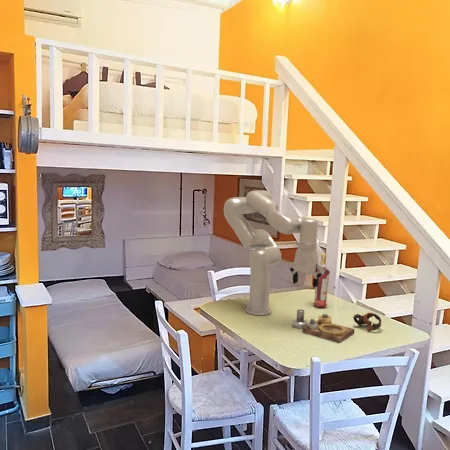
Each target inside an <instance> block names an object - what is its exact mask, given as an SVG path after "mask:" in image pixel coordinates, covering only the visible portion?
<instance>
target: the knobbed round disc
mask: <svg viewBox="0 0 450 450" xmlns="http://www.w3.org/2000/svg"><path fill="white" fill-rule="evenodd" d="M307 322H308V321H307V320H306V319H305V309H302V308H301V309H297V310H296V318H295V319H293V320H292V327H293V328H295V329H298V330H302V329H303V327H305V326H307Z"/></svg>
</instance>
